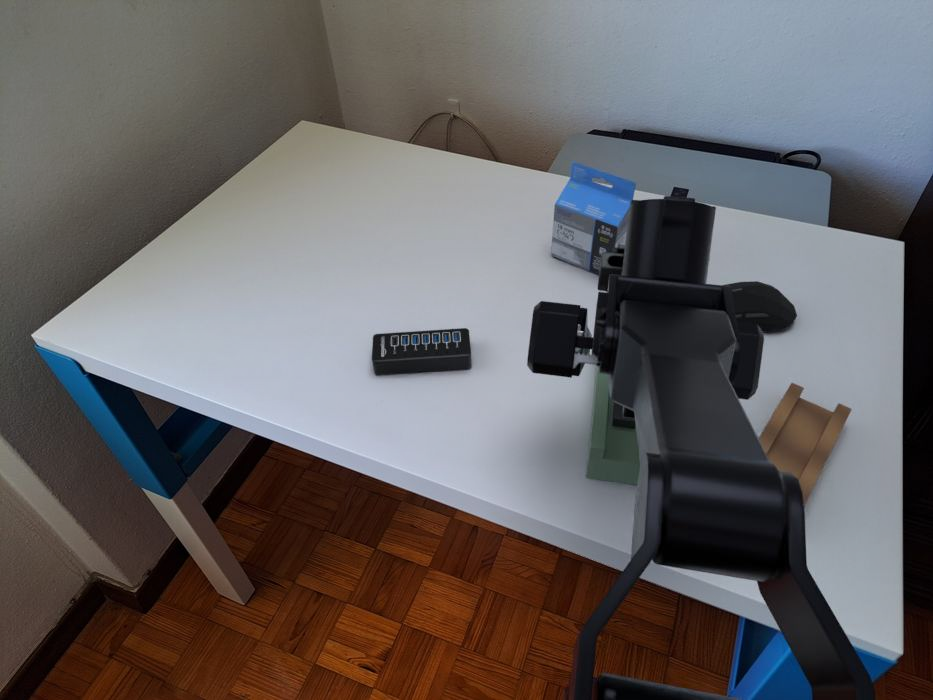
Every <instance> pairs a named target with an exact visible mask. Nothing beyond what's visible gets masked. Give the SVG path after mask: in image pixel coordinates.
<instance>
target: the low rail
mask: <svg viewBox="0 0 933 700" xmlns="http://www.w3.org/2000/svg"><path fill="white" fill-rule="evenodd" d="M804 390H805V387H804V386H802V385H798V384H797V383H794V382H791V383H790V384H789V386H788V388H787V390H786V391H785V393H784V395H783V396H782V398H781V399H780V402H779V403H778V405H777V407H776V408H775V410H774V412H773V413H772V415H771V417H770V418H769V420H768V422H767V424H766V425H765V427H764V429H763V430H762V432H761V434H760V436H758V438H759V440H760V442H761V444H762V446H763V448H764V450H765V452H766V454H767V456H768V458H769V460H770V462H771V463H772V464H774V465H775V466H776V468H777V469H778V470H779V471H781V472H788V473H792V474H793V475H794V476H795V477H796V478H797V479H798V481H799V484H800V487H801V490H802V493H803V502H804V506H805V505H806V502H807V501H808V499H809V497H810V495H811V493H812V491H813V489H814V487H815V485H816V482H817V480H818V479H819V476H820V475H821V472H822V471H823V469H824V466H825V465H826V462H827V460H828V458H829V456H830V454H831V452H832V450H833V449H834V446H835V445H836V442H837V440H838V438H839V436H840V434H841V432H842V431H843V428H844V426H845V424H846V423H847V420H848V418H849V417H850V414H851V412H852V410H853V409H852V408H851V407H848V406H846V405H844V404H842V403H837V405H836V406H835V409H834V410H833V411H831V410H829V409H826V408H824V407H821V406H820V405H818V404H815V403H813V402H811V401H809V400H806V399H804V398H802V397H801V396H802V394H803V392H804Z"/></svg>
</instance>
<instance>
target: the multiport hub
mask: <svg viewBox="0 0 933 700" xmlns="http://www.w3.org/2000/svg"><path fill="white" fill-rule="evenodd" d="M371 347H372V348H371V349H372V350H371V363H372V369H373V373H374V375H375V376H389V375H405V374H406V375H407V374H420V373H436V372H451V371H452V372H453V371H463V370H465V371H466V370H471V368H472V349H471V348H472V347H471V336H470V329H468V328H467V327H463V328H462V327H461V328H448V329H446V328H445V329H431V330H430V329H429V330H416V331H402V332H401V331H400V332H384V333H374V334H373V336H372V346H371Z"/></svg>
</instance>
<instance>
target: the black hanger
mask: <svg viewBox="0 0 933 700" xmlns="http://www.w3.org/2000/svg"><path fill="white" fill-rule="evenodd" d="M612 426H617V427H624V428H632V429H635V427H636V423H635V419H633V418H626V417H624V416H623V406H621V405H619V404H617V403H615V402H614V405H613V420H612Z"/></svg>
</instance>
